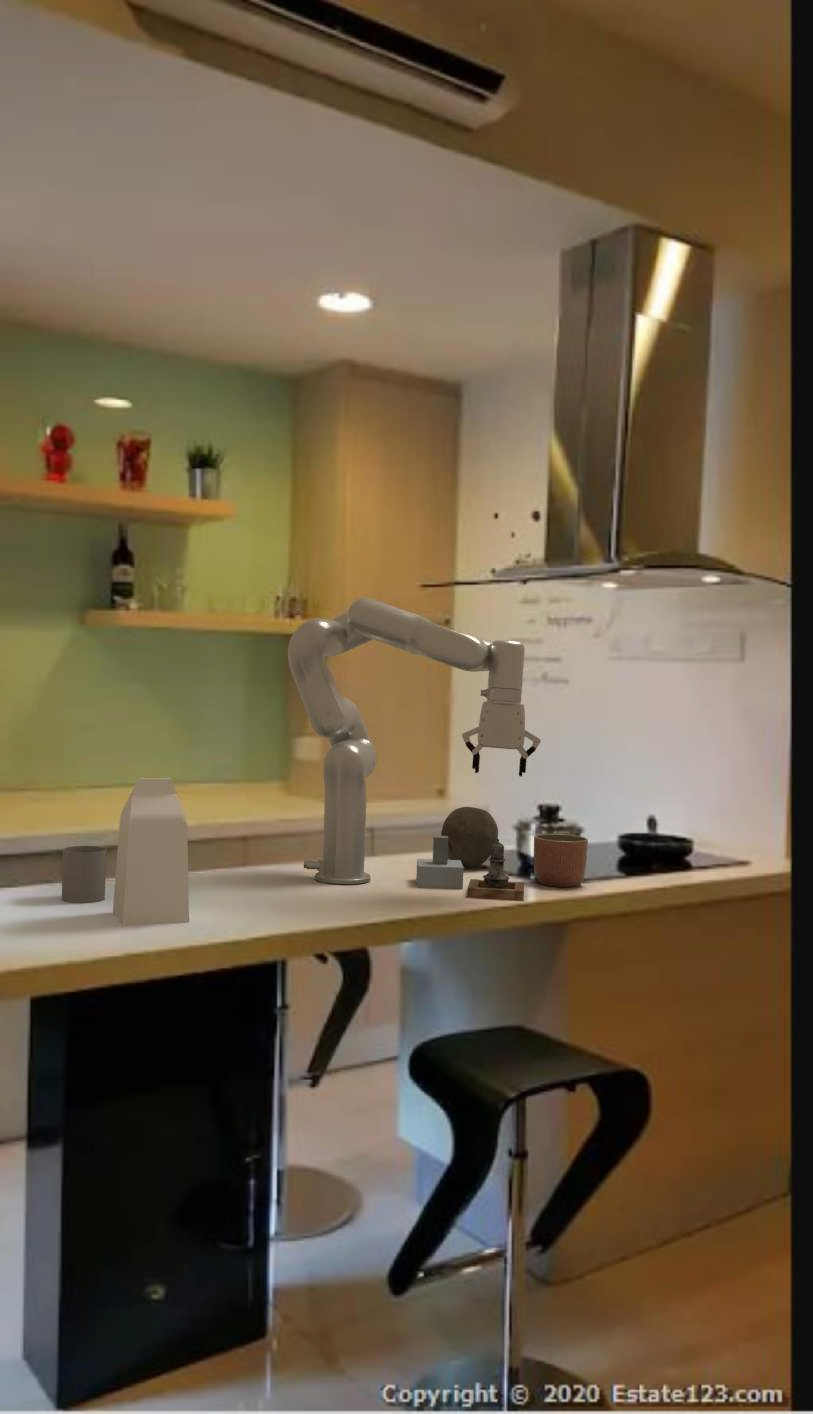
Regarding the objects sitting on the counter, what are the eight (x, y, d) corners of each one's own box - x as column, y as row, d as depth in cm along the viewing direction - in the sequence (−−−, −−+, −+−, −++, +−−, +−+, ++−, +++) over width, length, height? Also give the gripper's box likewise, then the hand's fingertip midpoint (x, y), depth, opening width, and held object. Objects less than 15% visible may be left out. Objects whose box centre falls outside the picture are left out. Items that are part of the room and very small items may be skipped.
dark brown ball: (498, 873, 272) (501, 811, 271) (440, 870, 272) (442, 809, 271) (494, 863, 286) (497, 805, 285) (439, 861, 286) (441, 802, 285)
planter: (548, 890, 252) (550, 841, 252) (522, 880, 264) (524, 833, 264) (596, 888, 257) (598, 840, 257) (569, 878, 268) (570, 833, 268)
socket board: (467, 897, 240) (467, 887, 240) (470, 887, 251) (470, 879, 251) (523, 900, 239) (523, 891, 239) (523, 891, 250) (524, 882, 250)
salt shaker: (507, 896, 242) (509, 841, 241) (480, 894, 243) (482, 839, 242) (510, 891, 247) (512, 837, 247) (483, 889, 248) (486, 835, 248)
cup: (65, 904, 218) (67, 853, 217) (57, 896, 225) (59, 846, 225) (109, 901, 222) (111, 851, 221) (100, 893, 229) (101, 845, 229)
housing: (417, 888, 249) (419, 839, 249) (416, 880, 259) (418, 832, 259) (462, 889, 250) (464, 840, 249) (459, 881, 260) (461, 834, 259)
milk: (122, 925, 202) (127, 781, 201) (112, 912, 212) (117, 775, 212) (189, 922, 206) (194, 781, 206) (176, 909, 217) (180, 775, 216)
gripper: (463, 694, 244) (458, 772, 244) (543, 699, 242) (538, 778, 242) (466, 693, 251) (460, 769, 252) (543, 699, 249) (538, 775, 250)
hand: (498, 774), depth 247 cm, fingers open, 9 cm apart
